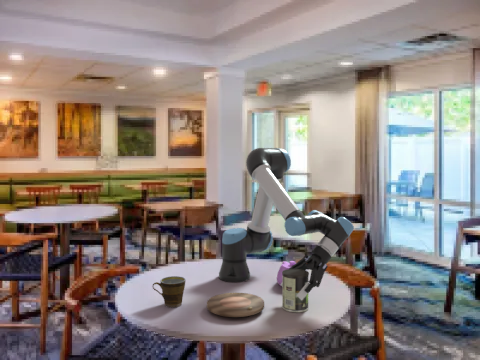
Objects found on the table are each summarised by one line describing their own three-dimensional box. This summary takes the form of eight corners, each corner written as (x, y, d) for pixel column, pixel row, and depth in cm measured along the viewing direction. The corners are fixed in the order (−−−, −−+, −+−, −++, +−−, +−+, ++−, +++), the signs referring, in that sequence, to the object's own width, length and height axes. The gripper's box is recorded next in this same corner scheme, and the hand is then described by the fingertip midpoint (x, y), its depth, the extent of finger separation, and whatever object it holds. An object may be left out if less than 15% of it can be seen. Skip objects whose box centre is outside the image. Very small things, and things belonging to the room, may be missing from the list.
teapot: (289, 294, 174) (289, 268, 174) (270, 281, 193) (270, 257, 192) (316, 291, 179) (317, 266, 178) (295, 278, 197) (296, 255, 197)
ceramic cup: (184, 299, 168) (184, 275, 168) (186, 308, 159) (186, 282, 158) (152, 301, 166) (152, 277, 165) (152, 310, 156) (152, 285, 155)
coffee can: (309, 303, 163) (309, 269, 162) (308, 313, 153) (308, 276, 152) (283, 302, 165) (283, 267, 164) (280, 311, 155) (280, 275, 154)
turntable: (196, 307, 159) (196, 298, 159) (241, 296, 172) (241, 287, 172) (228, 326, 141) (228, 316, 141) (276, 312, 154) (276, 302, 154)
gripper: (348, 264, 152) (313, 309, 147) (313, 250, 175) (282, 288, 171) (336, 251, 150) (300, 296, 145) (303, 238, 173) (270, 277, 168)
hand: (290, 292), depth 158 cm, fingers open, 13 cm apart
